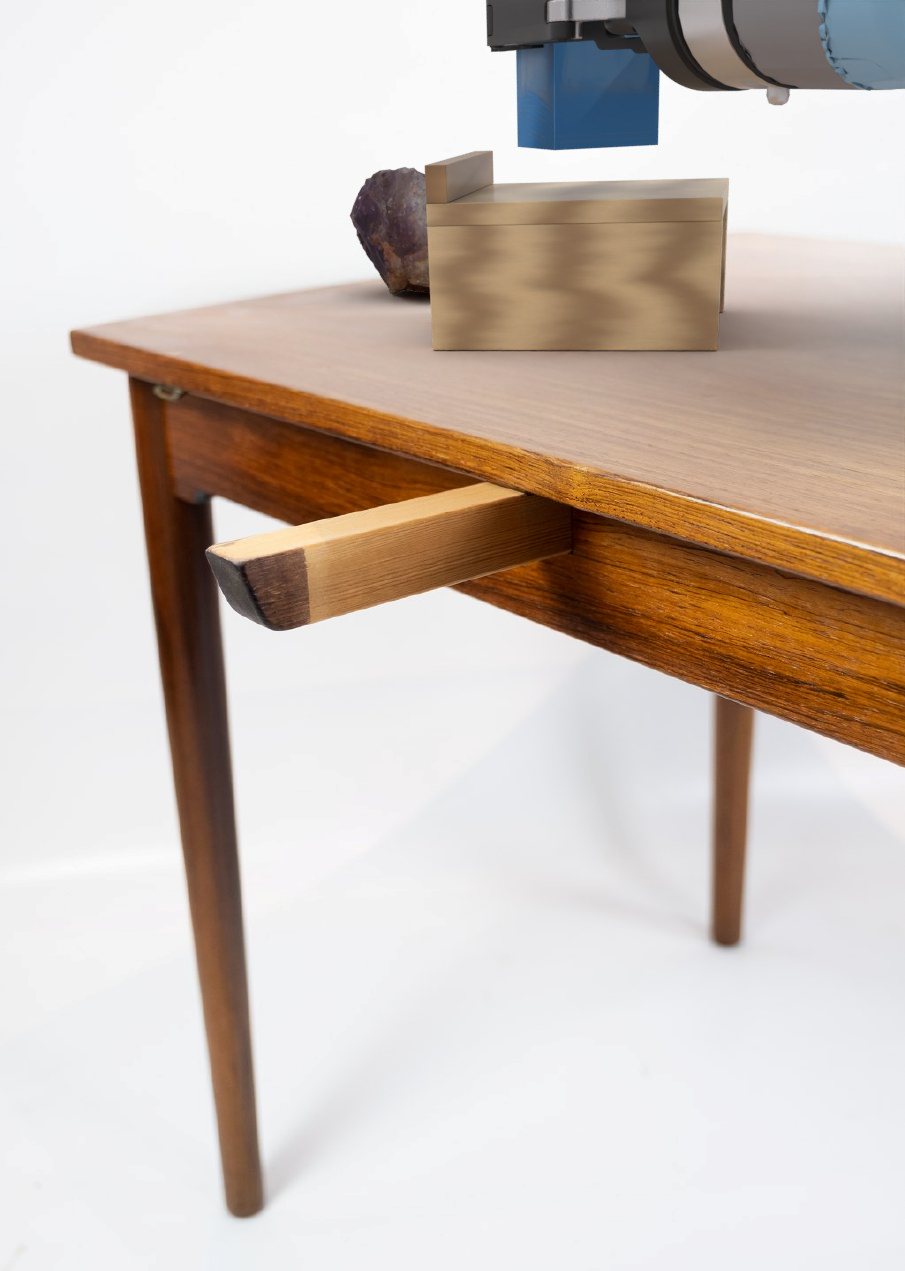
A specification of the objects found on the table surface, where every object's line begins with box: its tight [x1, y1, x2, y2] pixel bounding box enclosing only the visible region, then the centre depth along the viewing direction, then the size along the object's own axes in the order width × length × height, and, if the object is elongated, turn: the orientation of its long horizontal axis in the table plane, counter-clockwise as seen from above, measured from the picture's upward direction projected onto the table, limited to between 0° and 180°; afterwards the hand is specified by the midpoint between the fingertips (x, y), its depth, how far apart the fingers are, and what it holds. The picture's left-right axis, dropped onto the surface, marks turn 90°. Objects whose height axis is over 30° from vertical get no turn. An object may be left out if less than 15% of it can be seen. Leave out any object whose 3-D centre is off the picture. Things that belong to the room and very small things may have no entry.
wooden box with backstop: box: [424, 150, 730, 352], centre depth 79 cm, size 16×14×10 cm
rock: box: [349, 166, 430, 295], centre depth 96 cm, size 12×9×10 cm
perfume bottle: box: [515, 35, 661, 151], centre depth 75 cm, size 6×6×12 cm
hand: (552, 25), depth 79 cm, fingers closed on perfume bottle, 6 cm apart
